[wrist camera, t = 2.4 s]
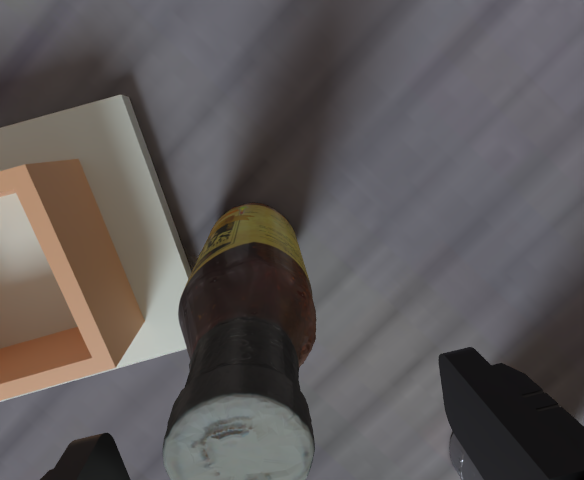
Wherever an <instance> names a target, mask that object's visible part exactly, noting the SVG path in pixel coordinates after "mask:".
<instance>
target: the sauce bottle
mask: <svg viewBox="0 0 584 480" xmlns="http://www.w3.org/2000/svg"><path fill="white" fill-rule="evenodd" d="M178 319H179V324H180V327H181V331H182V334H183V337H184V340H185V344H186V347H187V351H188V354H189V357H190V364H189V369H190V373H189V375H188V379H187V382H186V385H185V388H184V389H183V390H181V392H180V394H179V396H178V398H177V399H176V401H175V403H174V405H173V408H172V412H171V415H170V418H169V421H168V426H167V431H166V435H165V438H164V443H163V460H164V466H165V468H166V471H167V474H168V476H169V477H170V480H305V479H306V477H307V476H308V473H309V471H310V468H311V464H312V460H313V456H314V451H315V444H314V435H313V428H312V424H311V417H310V414H309V408H308V404H307V402H306V399H305V397H304V395H303V394H302V392H301V391H300V385H299V381H298V378H299V375H298V373H299V367H300V366H301V365H302V364H303V363H304V361H305V359H306V358H307V356H308V354H309V353H310V351H311V350H312V347H313V344H314V342H315V339H316V335H315V333H316V310H315V307H314V303H313V299H312V290H311V285H310V282H309V278H308V275H307V272H306V268H305V265H304V262H303V258H302V255H301V252H300V248H299V245H298V242H297V239H296V235H295V232H294V230H293V228H292V226H291V225H290V224H289V222H288V221H287V220H286V218H285V217H284V216H283V215H281V214H280V213H279V212H277V211H276V210H275V209H273V208H271V207H269V206H267V205H264V204H261V203H248V204H243V205H240V206H238V207H234V208H232V209H231V210H229V211H228V212H227V213H225V214H224V215H223V216H221V218H220V219H219V220H218V221H217V222H216V223H215V225H214V227H213V228H212V230H211V233H210V235H209V237H208V239H207V241H206V243H205V245H204V247H203V249H202V251H201V253H200V255H199V257H198V259H197V262H196V264H195V266H194V268H193V271H192V273H191V275H190V277H189V279H188V281H187V283H186V286H185V288H184V291H183V293H182V295H181V298H180V302H179V309H178Z"/></svg>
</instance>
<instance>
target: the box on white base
mask: <svg viewBox="0 0 584 480" xmlns="http://www.w3.org/2000/svg"><path fill="white" fill-rule="evenodd" d="M191 273H192V271H191V269H190V266H189V263H188V260H187V258H186V255H185V252H184V249H183V246H182V244H181V241H180V238H179V235H178V232H177V230H176V227H175V224H174V221H173V219H172V216H171V213H170V210H169V207H168V205H167V202H166V199H165V196H164V194H163V191H162V188H161V185H160V182H159V180H158V177H157V174H156V171H155V168H154V166H153V163H152V160H151V157H150V155H149V152H148V149H147V146H146V143H145V141H144V138H143V135H142V132H141V129H140V127H139V124H138V121H137V118H136V116H135V113H134V110H133V107H132V104H131V102H130V99H129V97H128V96H125V95H117V96H113V97H110V98H106V99H103V100H99V101H95V102H92V103H88V104H84V105H81V106H77V107H74V108H70V109H66V110H63V111H59V112H56V113H52V114H48V115H45V116H41V117H37V118H34V119H30V120H27V121H23V122H19V123H16V124H12V125H8V126H5V127H1V128H0V402H1V401H5V400H8V399H12V398H15V397H19V396H22V395H26V394H29V393H33V392H36V391H40V390H43V389H47V388H50V387H54V386H57V385H61V384H64V383H68V382H71V381H75V380H78V379H82V378H85V377H89V376H92V375H96V374H99V373H103V372H106V371H110V370H114V369H117V368H121V367H124V366H128V365H131V364H135V363H138V362H142V361H145V360H149V359H152V358H156V357H159V356H163V355H166V354H170V353H173V352H177V351H180V350H184V349H187V347H186V344H185V340H184V337H183V334H182V331H181V327H180V324H179V319H178V309H179V302H180V298H181V295H182V293H183V291H184V288H185V286H186V283H187V281H188V279H189V277H190V275H191Z"/></svg>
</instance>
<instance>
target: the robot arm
mask: <svg viewBox="0 0 584 480" xmlns="http://www.w3.org/2000/svg"><path fill="white" fill-rule="evenodd" d="M439 369H440V376H441V384H442V391H443V399H444V406H445V411H446V415H447V418H448V421H449V424H450V426H451V429H452V431H453V435H452V437H451V441H450V447H449V449H450V458H451V461H452V464H453V466H454V467H455V469H456V471H457V472H458V474H459V476H460V478H461V480H584V426H582V425H581V424H580V423H579V422H578V421H577V420H576V419H575V418H574V417H572V416H571V415H570V414H569V413H568V412H567V411H566V410H565V409H563V408H562V407H559V406H558V403H557V402H556V401H555V400H553V399H552V398H551V397H550V396H549V395H548V394H547V393H544V392H543V390H542V389H541V388H540V387H539V386H538V385H537V384H536V383H534V382H533V381H532V380H531V379H530V378H529V377H528V376H527V375H525V374H524V373H522V372H520V371H517V370H515V369H513V368H511V367H509V366H507V365H505V364H503V363H500V364H495V365H490V364H489V363H488V362H487V361H486V360H485V359H484V358H483V357H482V356H481V355H480V354H479V353H478V352H477V351H476V350H475V349H474V348H472V347H468V348H464V349H460V350H456V351H451V352H447V353H443V354H440V355H439ZM40 480H130V477H129V475H128V473H127V470H126V468H125V465H124V463H123V460H122V458H121V456H120V453H119V451H118V448H117V446H116V443H115V441H114V439H113V437H112V436H111V435H110V434H109V433H103V434H99V435H95V436H90V437H86V438H82V439H78V440H74V441H72V442H71V443H70V444H69V445H68V447H67V448H66V450H65V452H64V453H63V455H62V456H61V458H60V460H59V461H58V463H57V464H56V466H55V468H54V469H52V470H49V471H48V472H47V473H46V474H45V475H44V476H43V477H42V478H41V479H40Z"/></svg>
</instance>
